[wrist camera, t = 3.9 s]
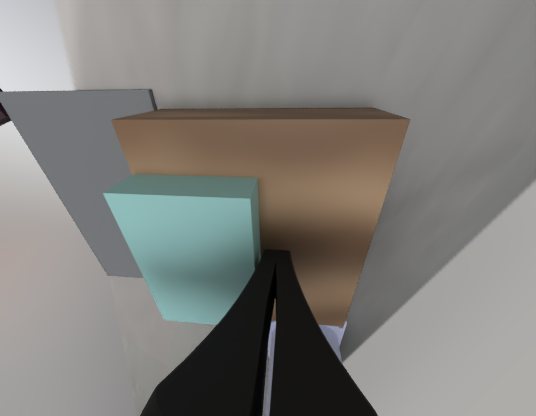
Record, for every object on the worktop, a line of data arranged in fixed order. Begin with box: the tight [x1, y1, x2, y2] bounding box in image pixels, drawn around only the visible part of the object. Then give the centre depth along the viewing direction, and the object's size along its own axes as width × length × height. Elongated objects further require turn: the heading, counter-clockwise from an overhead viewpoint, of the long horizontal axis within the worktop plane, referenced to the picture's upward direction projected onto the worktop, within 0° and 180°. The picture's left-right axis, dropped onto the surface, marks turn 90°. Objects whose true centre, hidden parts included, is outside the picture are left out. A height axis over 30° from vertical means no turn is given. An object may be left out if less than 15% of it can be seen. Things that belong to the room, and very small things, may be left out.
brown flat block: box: [111, 108, 410, 327], centre depth 14 cm, size 14×12×4 cm
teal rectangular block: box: [103, 174, 261, 325], centre depth 11 cm, size 9×6×2 cm, turn 1°
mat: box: [0, 90, 157, 278], centre depth 16 cm, size 16×10×1 cm, turn 1°
